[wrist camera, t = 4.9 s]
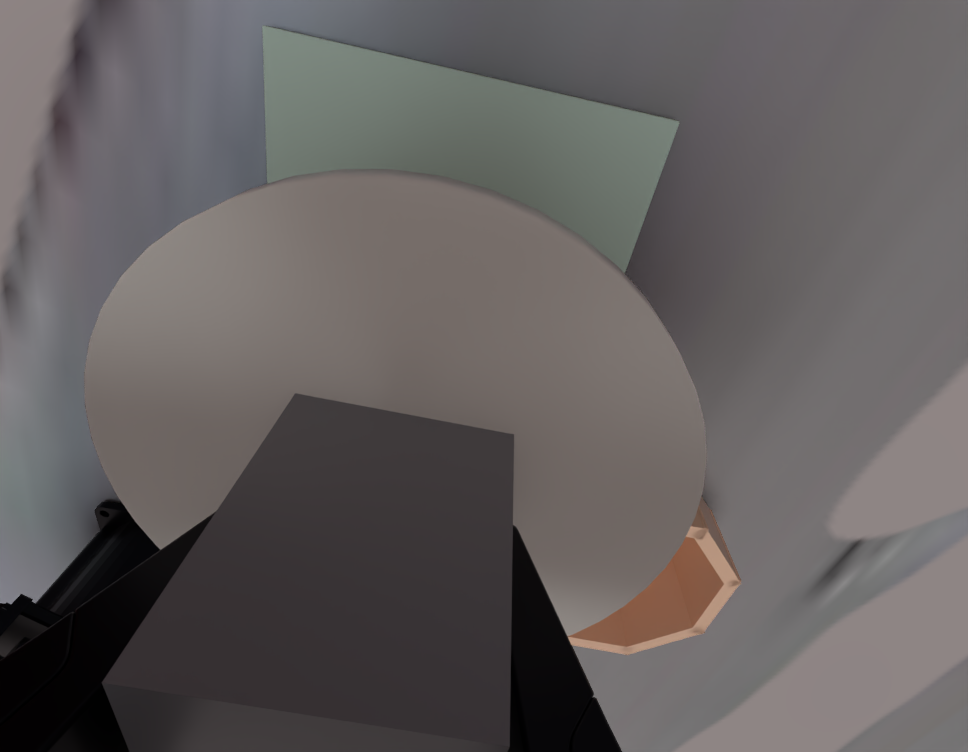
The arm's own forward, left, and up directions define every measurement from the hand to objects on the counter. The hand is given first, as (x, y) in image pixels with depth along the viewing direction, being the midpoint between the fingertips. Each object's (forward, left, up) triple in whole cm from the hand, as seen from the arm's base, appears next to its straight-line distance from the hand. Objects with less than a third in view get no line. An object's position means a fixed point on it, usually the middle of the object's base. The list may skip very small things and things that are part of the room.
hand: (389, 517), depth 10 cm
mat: (0, +1, -12) cm, 12 cm away
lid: (0, 0, -1) cm, 1 cm away
